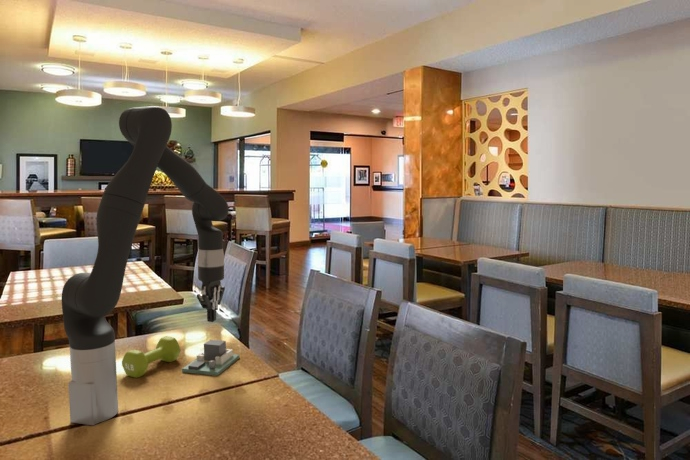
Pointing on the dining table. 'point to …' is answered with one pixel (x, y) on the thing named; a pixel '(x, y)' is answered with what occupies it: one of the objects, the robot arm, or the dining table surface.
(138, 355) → the dumbbell
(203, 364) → the board
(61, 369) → the dining table surface
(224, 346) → the plug
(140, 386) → the dining table surface
